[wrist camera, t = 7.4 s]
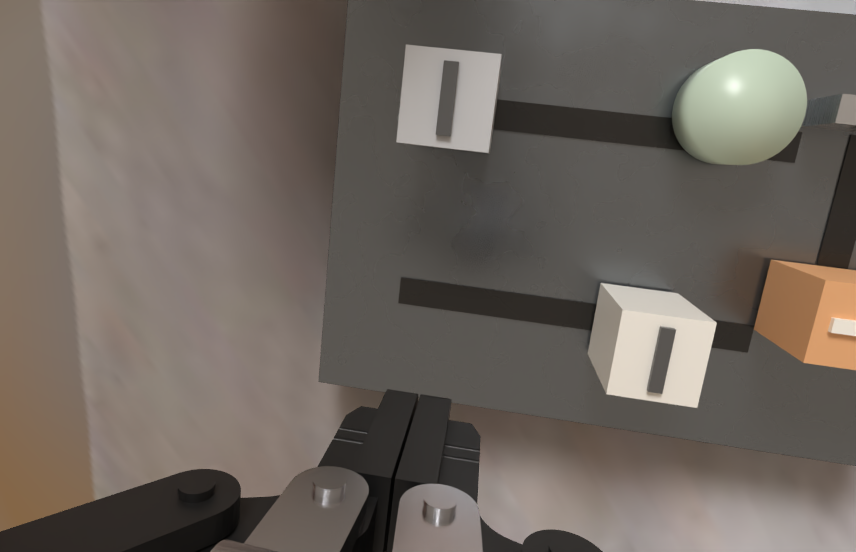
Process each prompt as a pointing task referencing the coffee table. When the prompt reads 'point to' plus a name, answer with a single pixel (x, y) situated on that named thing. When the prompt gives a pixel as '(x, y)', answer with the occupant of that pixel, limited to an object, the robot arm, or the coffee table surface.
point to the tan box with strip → (810, 313)
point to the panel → (586, 215)
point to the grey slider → (448, 98)
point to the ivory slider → (650, 345)
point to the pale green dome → (740, 108)
